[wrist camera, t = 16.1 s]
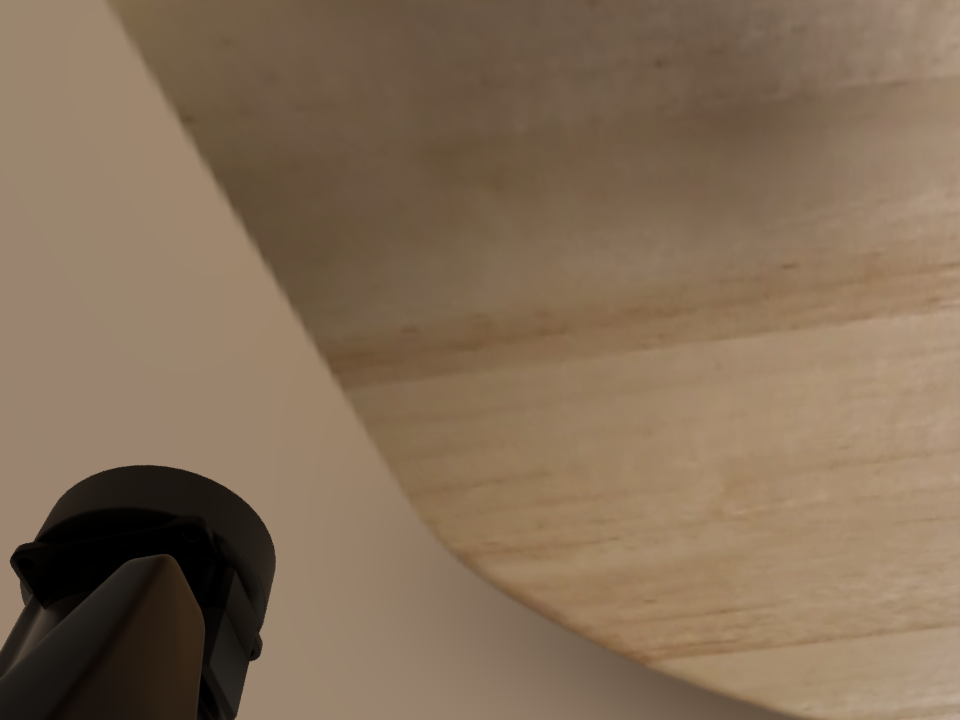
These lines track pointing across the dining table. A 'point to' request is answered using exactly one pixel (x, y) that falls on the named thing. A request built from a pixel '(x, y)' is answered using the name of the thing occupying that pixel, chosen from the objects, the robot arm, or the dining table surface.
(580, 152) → the dining table surface
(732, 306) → the dining table surface
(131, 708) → the robot arm
